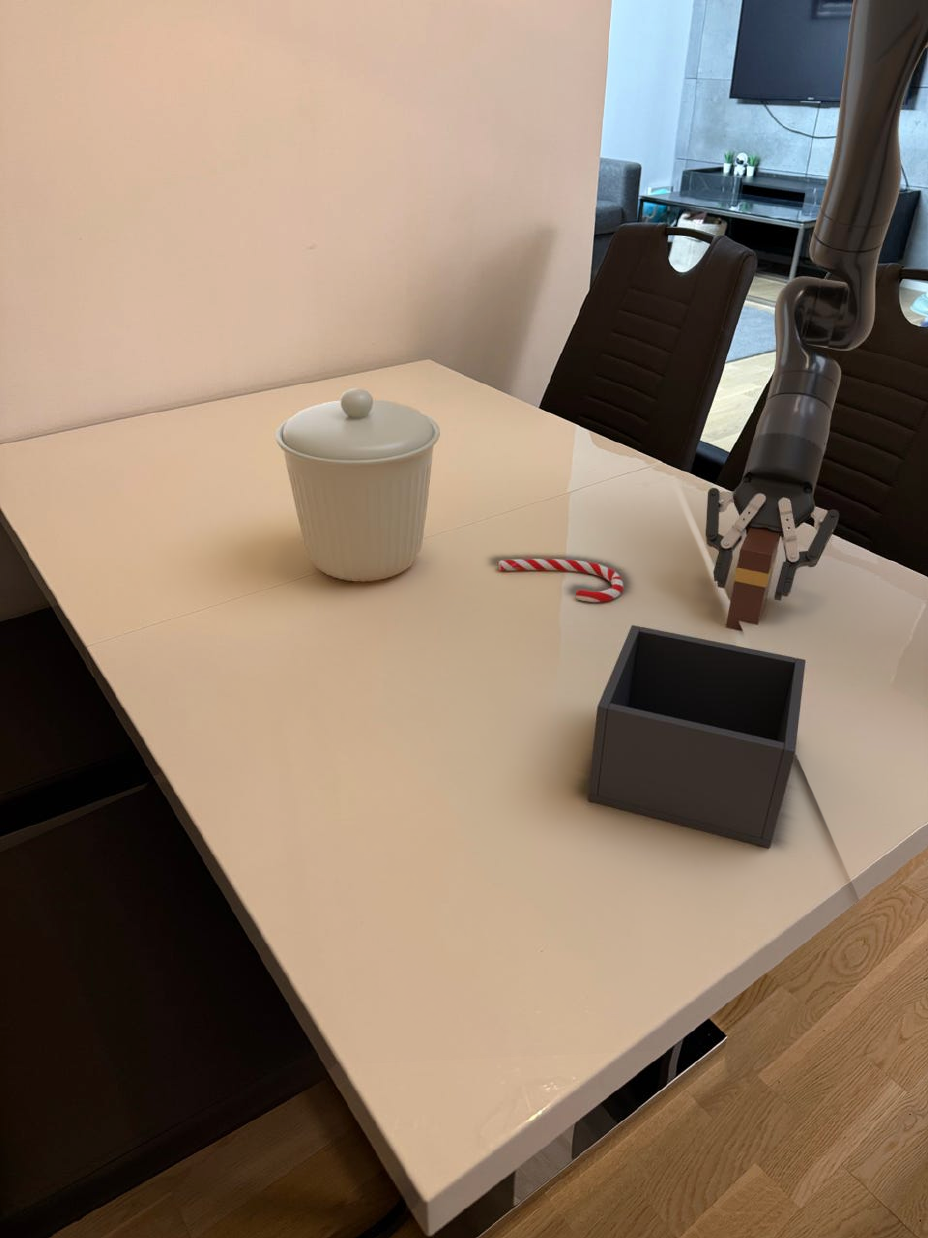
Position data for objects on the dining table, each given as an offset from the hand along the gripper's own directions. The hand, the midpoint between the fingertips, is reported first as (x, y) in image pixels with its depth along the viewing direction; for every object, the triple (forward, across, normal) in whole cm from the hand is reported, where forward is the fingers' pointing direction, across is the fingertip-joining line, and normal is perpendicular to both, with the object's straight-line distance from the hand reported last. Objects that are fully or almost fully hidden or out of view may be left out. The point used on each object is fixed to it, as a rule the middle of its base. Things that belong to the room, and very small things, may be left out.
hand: (749, 591), depth 97 cm
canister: (+7, -44, -1) cm, 44 cm away
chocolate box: (+2, 0, +4) cm, 5 cm away
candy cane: (+3, -21, +3) cm, 22 cm away
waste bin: (+22, 0, -16) cm, 27 cm away
